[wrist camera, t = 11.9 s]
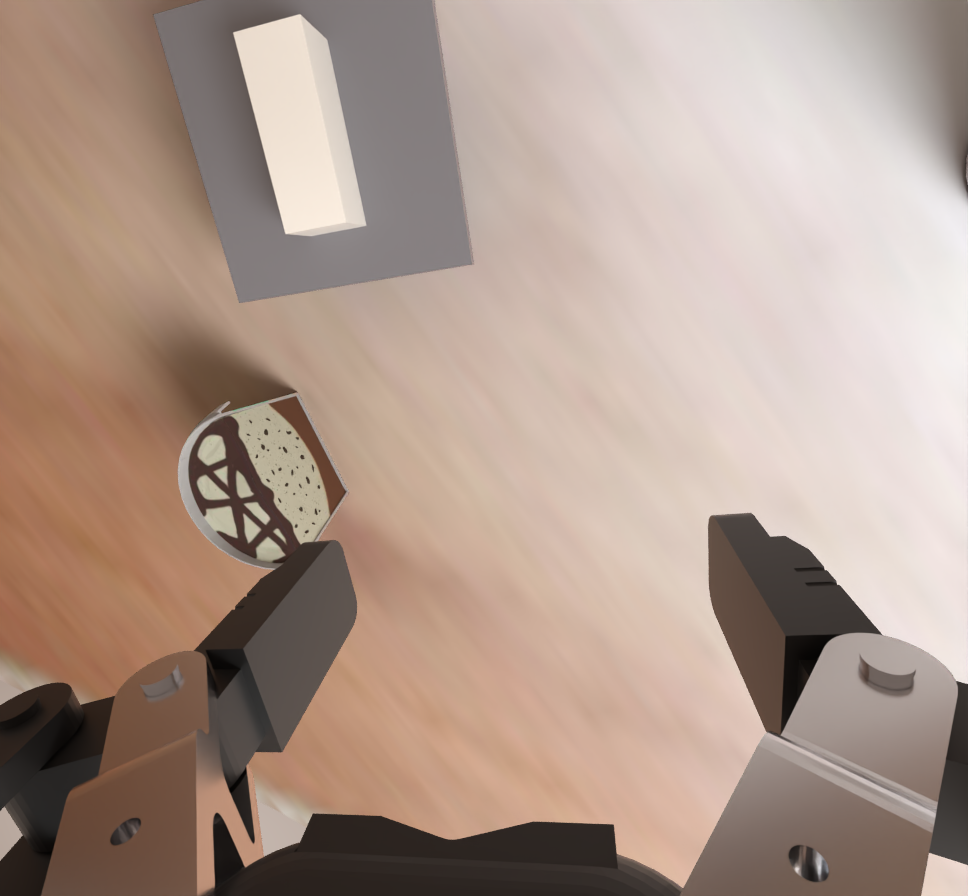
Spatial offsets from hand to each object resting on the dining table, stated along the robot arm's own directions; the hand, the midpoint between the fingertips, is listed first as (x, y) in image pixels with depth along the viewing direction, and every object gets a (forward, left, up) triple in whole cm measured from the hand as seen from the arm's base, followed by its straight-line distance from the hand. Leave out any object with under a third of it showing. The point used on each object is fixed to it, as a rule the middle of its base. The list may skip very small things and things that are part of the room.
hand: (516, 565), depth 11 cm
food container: (+22, +6, -28) cm, 36 cm away
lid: (+11, -14, -22) cm, 28 cm away
